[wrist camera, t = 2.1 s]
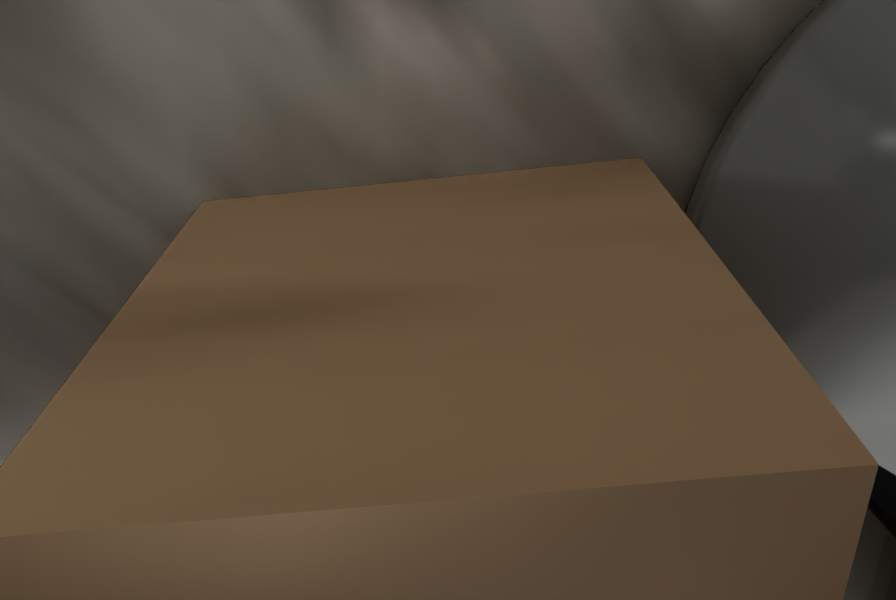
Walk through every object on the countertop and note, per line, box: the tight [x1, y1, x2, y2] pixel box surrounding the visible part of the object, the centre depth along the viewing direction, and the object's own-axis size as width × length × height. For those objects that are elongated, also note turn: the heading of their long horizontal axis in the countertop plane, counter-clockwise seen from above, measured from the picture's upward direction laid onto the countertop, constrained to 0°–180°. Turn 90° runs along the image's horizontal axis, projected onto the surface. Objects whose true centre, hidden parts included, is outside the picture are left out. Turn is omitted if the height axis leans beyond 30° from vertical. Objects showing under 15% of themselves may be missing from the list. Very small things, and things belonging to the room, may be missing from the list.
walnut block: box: [0, 157, 879, 600], centre depth 9 cm, size 6×6×6 cm
